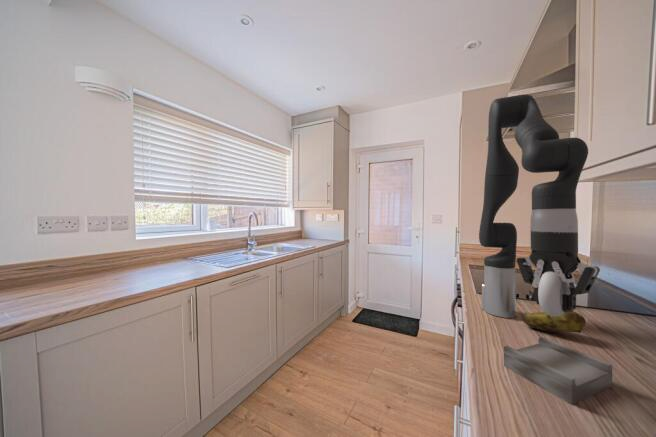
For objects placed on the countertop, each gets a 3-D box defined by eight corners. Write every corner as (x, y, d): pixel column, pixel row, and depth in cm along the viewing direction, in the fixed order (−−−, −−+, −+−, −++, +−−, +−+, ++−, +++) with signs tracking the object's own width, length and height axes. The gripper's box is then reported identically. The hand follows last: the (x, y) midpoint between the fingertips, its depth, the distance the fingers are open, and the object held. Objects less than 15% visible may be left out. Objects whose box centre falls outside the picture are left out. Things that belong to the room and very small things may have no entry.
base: (503, 365, 54) (503, 346, 54) (541, 354, 59) (541, 336, 59) (571, 404, 43) (571, 380, 43) (612, 386, 47) (612, 364, 47)
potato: (533, 322, 78) (533, 298, 78) (589, 339, 66) (589, 311, 66) (521, 327, 74) (520, 302, 74) (578, 346, 62) (578, 317, 62)
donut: (550, 308, 55) (550, 266, 55) (570, 313, 52) (571, 269, 52) (535, 317, 50) (535, 271, 50) (557, 323, 47) (557, 274, 47)
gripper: (609, 231, 46) (610, 318, 45) (527, 228, 59) (527, 296, 59) (588, 231, 43) (589, 323, 43) (507, 229, 57) (507, 299, 56)
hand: (553, 307), depth 51 cm, fingers closed on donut, 4 cm apart
